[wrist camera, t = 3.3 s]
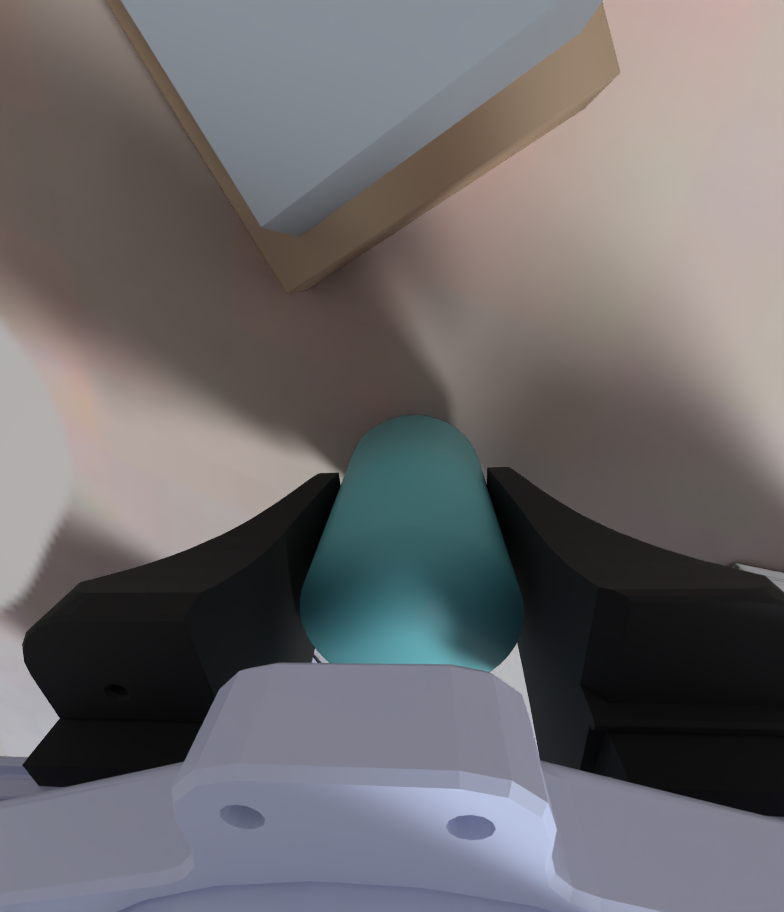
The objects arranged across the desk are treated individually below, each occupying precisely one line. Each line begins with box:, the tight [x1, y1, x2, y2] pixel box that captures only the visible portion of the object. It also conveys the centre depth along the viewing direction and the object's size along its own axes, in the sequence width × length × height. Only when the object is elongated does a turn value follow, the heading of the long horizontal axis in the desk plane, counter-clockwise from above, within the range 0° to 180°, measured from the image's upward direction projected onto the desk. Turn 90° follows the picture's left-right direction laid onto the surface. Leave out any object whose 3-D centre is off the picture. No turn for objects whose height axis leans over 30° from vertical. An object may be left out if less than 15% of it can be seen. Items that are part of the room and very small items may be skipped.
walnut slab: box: [105, 0, 620, 294], centre depth 9 cm, size 8×8×2 cm
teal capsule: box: [300, 415, 524, 672], centre depth 10 cm, size 4×4×6 cm
